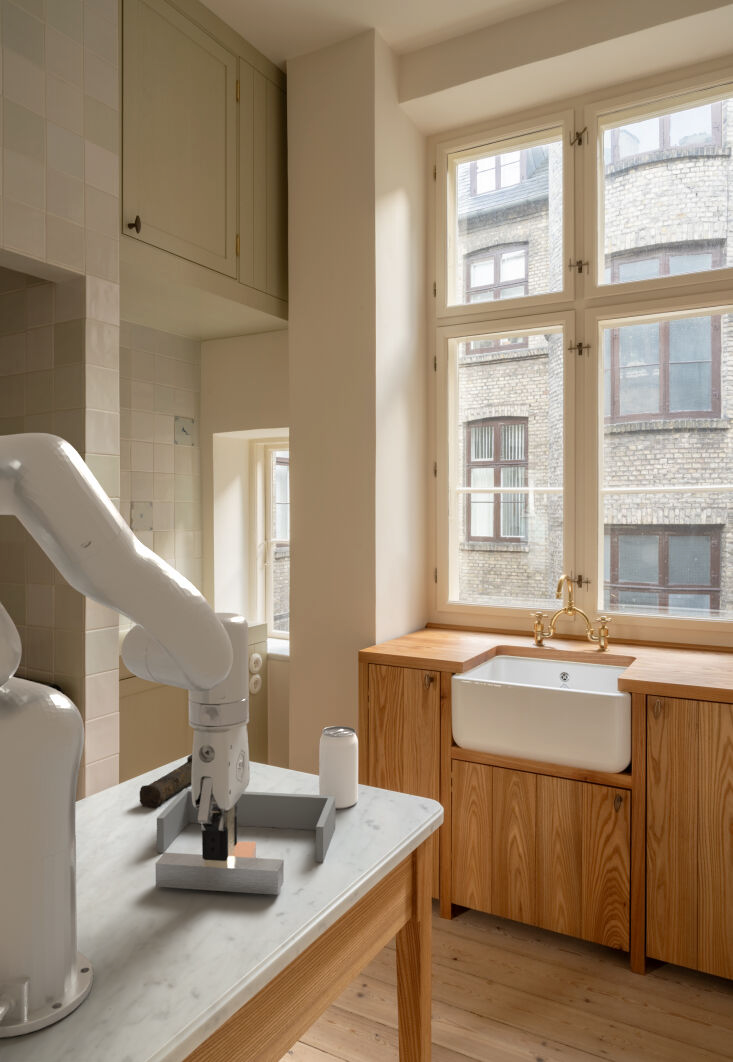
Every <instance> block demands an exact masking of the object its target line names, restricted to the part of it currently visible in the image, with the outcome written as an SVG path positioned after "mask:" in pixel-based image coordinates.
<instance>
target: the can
mask: <svg viewBox="0 0 733 1062" xmlns="http://www.w3.org/2000/svg"><path fill="white" fill-rule="evenodd" d="M356 732H357V730H356V729H355V728H354V727H349V726H347V725H346V726H345V725H344V726H343V725H334V726H328V727H325V728H323V729H322V730H321V733H322V734H321V736H320V739H319V752H318V753H319V755H318V757H319V758H318V759H319V762H318V764H319V765H318V767H319V769H318V772H319V773H318V777H319V778H318V780H319V781H318V785H319V786H318V789H319V790H318V792H319V793H318V795H326V796H335V810H343V809H349V808H351V807H353V806H355V805H356V804H357V802H358V801H359V739H358V736H357V735H356Z"/></svg>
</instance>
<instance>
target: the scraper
mask: <svg viewBox="0 0 733 1062" xmlns="http://www.w3.org/2000/svg"><path fill="white" fill-rule="evenodd" d="M212 814H217V816H218V818H219V811H212ZM234 825H235V819H234V806H233V807H232V808H231V809H229V810H226V821H225V828H228V858H227V860H226V861H214V860H204V859H203V857H202V854H196V853H180V852H179V853H178V852H176V853H175V852H164V853H162V855H161V857H159V859H158V860H157V861H156V862H155V887H156V888H158V887H159V888H172V889H189V890H200V891H202V890H203V891H214V892H215V891H219V892H232V893H249V894H261V895H262V894H264V895H279V893H280V891H281V889H282V887H283V885H284V882H285V881H284V876H285V875H284V871H285V869H284V868H285V867H284V862H285V861H284V859H279V858H278V859H277V858H264V857H263V858H261V857H260V858H259V857H256V858H247V857H235V843H234Z"/></svg>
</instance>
